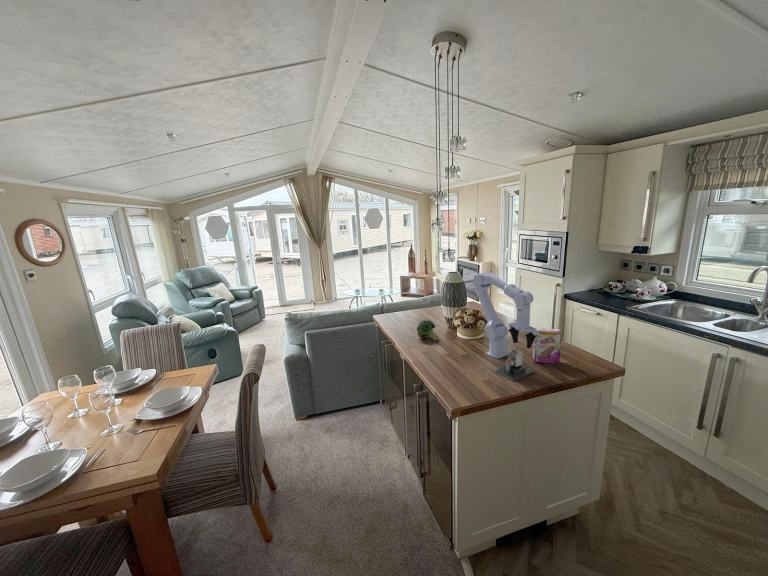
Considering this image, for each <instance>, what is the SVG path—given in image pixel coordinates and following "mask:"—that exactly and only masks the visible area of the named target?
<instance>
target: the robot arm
mask: <svg viewBox="0 0 768 576" xmlns="http://www.w3.org/2000/svg"><path fill="white" fill-rule="evenodd" d="M472 282H473V285H474V288H475V293H476V295H477V297H478V301H479V303H480V305H481V308H482V311H483V313H484V316H485V318H486V320H487V323H486V324H485V330H486V336H487V338H488V339H489V349H488V350H489V351H487V352H485V355H488V356H490V357H493V358H495V359H501V358H503V357H506V356H508V355H509V354H508V353H509V351H510V350H509V349H510V348H509V347H510V345H509V340H508V338H507V335H508V334H510V336H511V338H512V342H513V344H517V343H518V342H519V333H520V331H522V332H525V333H526V334H525V339H526V348H527V349H532V346H533V345H534V339H535V338H536V336H537V335H538V330H535V328H533V327H532V326H531V325H530V321H531V320H530V319H531V304H532V303H533V302H534V296H533V293H531V292H530V291H528V290H527V291H525V290H523V289H520V288H518V287H517V286H516V285H515V284H514V283H509V284H508V283H506V281H504V280H502V279H501V278H500V277H498V276H497V275H496V273H494V272H492V271H489V270H488V271H486V272H480V273H476V274H474V276H473V278H472ZM492 285H493V286H494V287H496V288H499V289H500V290H502V291H503V293H504V295H506V296H507V297H508V298H510V299H512V300H513V302H514V304H515V308H516V316H515V317H516V319H515V320H516V321H515V322H516V323H514V322H509V323H508V327H507V326H506V325H505V323H504V321H503V320H501V319H499V318H498V315H497V313H496V309H495V307H494V305H493V303H492V299H491V297H490V295H489V292H488V290H489V288H491V286H492ZM508 328H509V329H508Z"/></svg>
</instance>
